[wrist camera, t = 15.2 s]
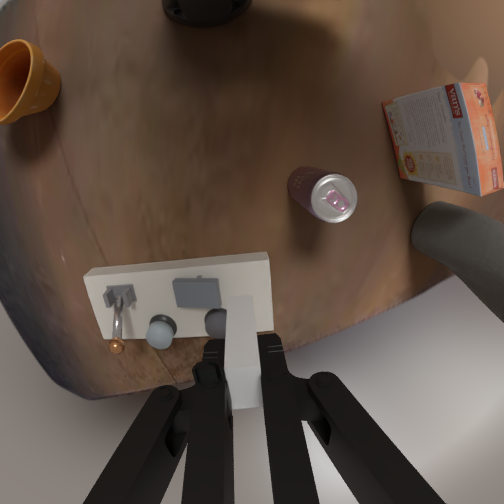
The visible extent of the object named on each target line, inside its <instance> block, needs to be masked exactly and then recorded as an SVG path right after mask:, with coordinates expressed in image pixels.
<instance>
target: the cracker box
mask: <svg viewBox="0 0 504 504" xmlns="http://www.w3.org/2000/svg"><path fill="white" fill-rule="evenodd" d="M382 105H383V109H384V112H385V116H386V119H387V123H388V126H389V130H390V134H391V138H392V142H393V146H394V150H395V155H396V159H397V163H398V168H399V173H400V178H402V179H407V180H412V181H417V182H422V183H426V184H431V185H435V186H440V187H444V188H449V189H453V190H457V191H461V192H466V193H470V194H473V195H476V196H480V197H482V196H485V195H487V194H490V193H493V192H495V191H498V190H500V189H503V188H504V183H503V172H502V164H501V156H500V149H499V143H498V137H497V132H496V127H495V122H494V117H493V113H492V108H491V104H490V100H489V96H488V92H487V89H486V85H485V84H484V83H455V84H450V85H446V86H441V87H437V88H432V89H428V90H424V91H420V92H417V93H413V94H409V95H406V96H402V97H398V98H395V99H392V100H389V101H385V102H383V103H382Z"/></svg>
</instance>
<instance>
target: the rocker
mask: <svg viewBox="0 0 504 504" xmlns="http://www.w3.org/2000/svg"><path fill="white" fill-rule="evenodd" d="M172 285H173V290H174V295H175V299H176V304H177V307H184V308H214V309H220V307H221V305H222V301H221V295H220V288H219V281H218V278H175V279H174V280H173V281H172Z"/></svg>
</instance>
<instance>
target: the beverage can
mask: <svg viewBox="0 0 504 504" xmlns="http://www.w3.org/2000/svg"><path fill="white" fill-rule="evenodd" d="M288 191H289V193H290V195H291V197H292V198H293V199H294V200H295V201H297V202H298V203H299V204H300V205H302V206H303V207H304V208H305V209H307V210H308V211H309V212H310V213H311V214H313V215H314V216H315V217H316V218H318V219H319V220H321V221H324V222H328V223H339V222H342V221H344V220H346V219H347V218H349V217H350V216H351V215H352V213H353V212H354V210H355V208H356V205H357V200H358V197H357V191H356V188H355V186H354V184H353V183H352V182H351V181H350V180H349V179H348V178H347V177H346V176H344V175H343V174H341V173H338V172H333V171H328V170H323V169H317V168H312V167H301V168H298V169H297V170H295V171H294V172H293V173H292V174H291V176H290V178H289V180H288Z"/></svg>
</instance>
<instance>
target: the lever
mask: <svg viewBox="0 0 504 504" xmlns="http://www.w3.org/2000/svg"><path fill="white" fill-rule="evenodd" d="M123 308H124V302H123V298H122V296H121V295H118V296H116V297H115V304H114V316H113V332H112V339H111V340H110V342H109V348H110V350H111V351H112V352H113V353H115V354H120V353H122V352H123V351H124V348H125V345H124V342H123V341H122V325H123Z"/></svg>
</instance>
